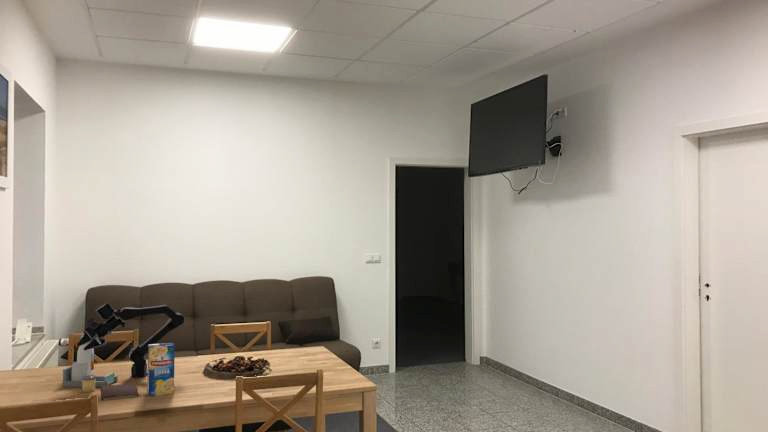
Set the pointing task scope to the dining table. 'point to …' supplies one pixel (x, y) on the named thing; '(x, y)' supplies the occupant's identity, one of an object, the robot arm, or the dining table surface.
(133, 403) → the dining table surface
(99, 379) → the lane
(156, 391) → the blue yellow food box
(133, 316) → the robot arm
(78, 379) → the grey angular block
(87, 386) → the jar
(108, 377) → the bar
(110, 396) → the notebook
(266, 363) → the food dish
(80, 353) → the milk bottle
